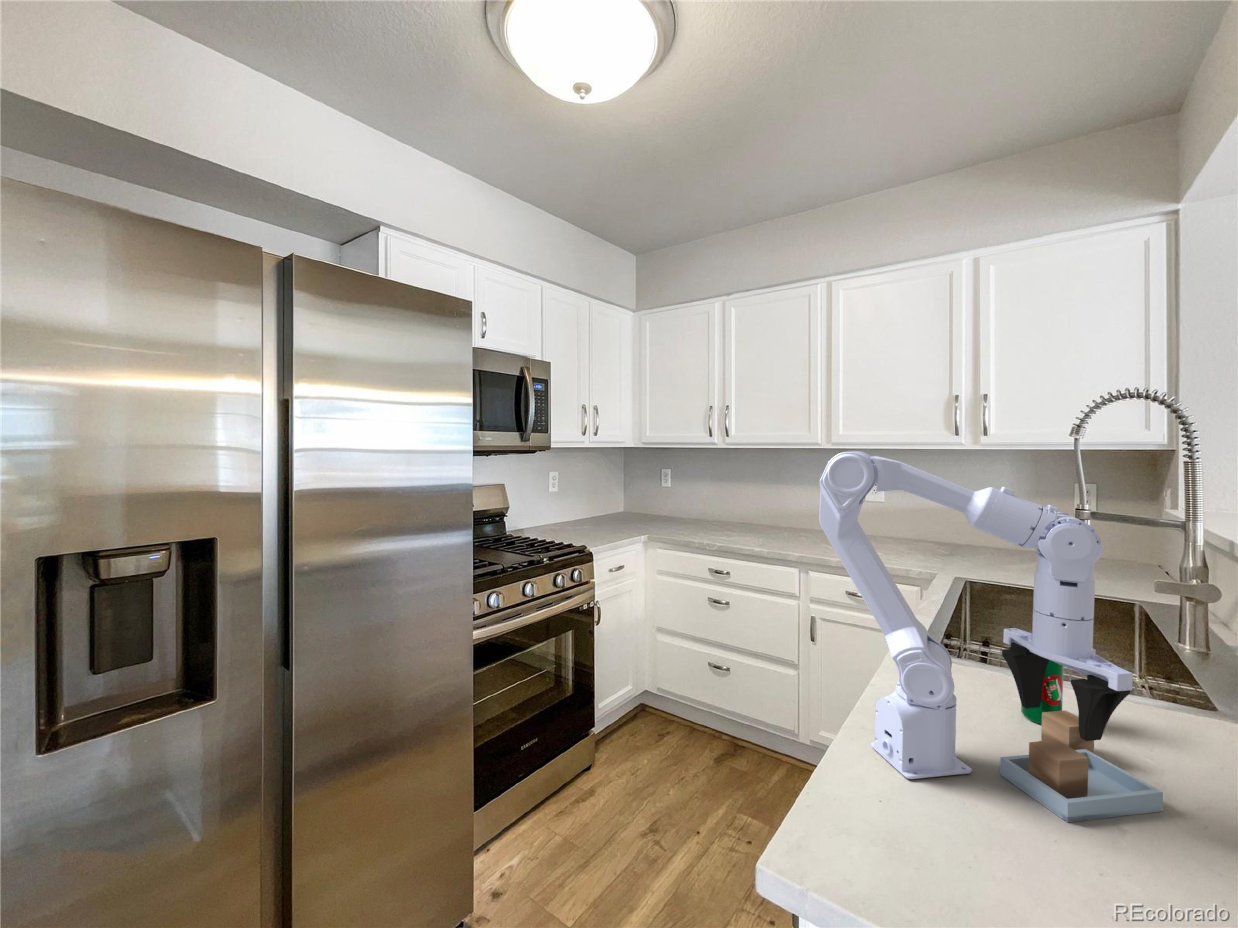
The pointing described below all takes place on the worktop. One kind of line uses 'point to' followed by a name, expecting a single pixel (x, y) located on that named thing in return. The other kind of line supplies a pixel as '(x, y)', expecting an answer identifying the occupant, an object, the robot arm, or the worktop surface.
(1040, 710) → the soda can
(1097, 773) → the tray
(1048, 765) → the walnut block
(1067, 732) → the walnut block
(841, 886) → the worktop surface
